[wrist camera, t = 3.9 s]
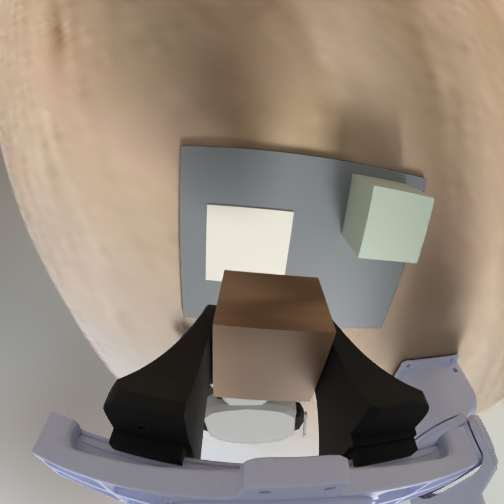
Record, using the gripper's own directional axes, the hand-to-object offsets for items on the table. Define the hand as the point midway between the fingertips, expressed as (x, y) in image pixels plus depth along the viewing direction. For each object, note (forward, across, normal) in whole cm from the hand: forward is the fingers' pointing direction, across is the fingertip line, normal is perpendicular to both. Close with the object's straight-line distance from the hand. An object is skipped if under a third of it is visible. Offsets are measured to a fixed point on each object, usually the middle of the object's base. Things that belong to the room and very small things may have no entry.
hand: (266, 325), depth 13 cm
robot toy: (+9, 0, +16) cm, 18 cm away
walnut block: (+1, 0, 0) cm, 1 cm away
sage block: (+8, -8, -4) cm, 12 cm away
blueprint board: (+8, -3, 0) cm, 9 cm away
